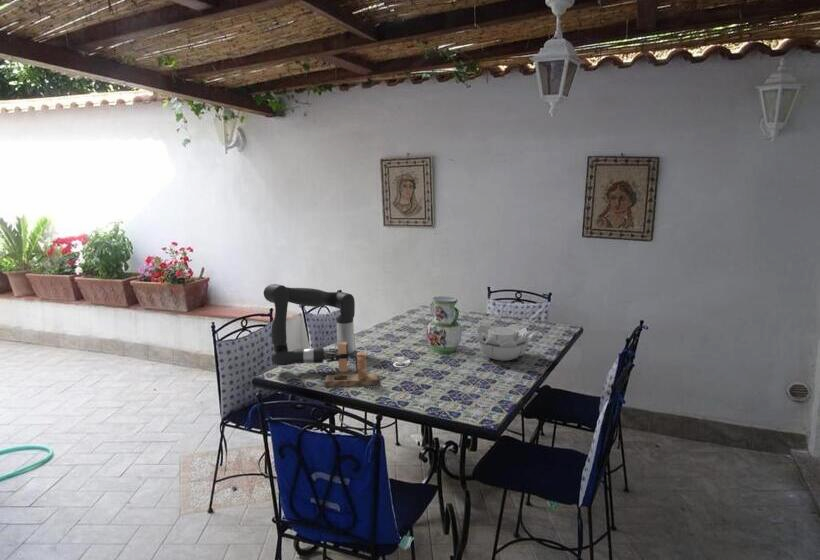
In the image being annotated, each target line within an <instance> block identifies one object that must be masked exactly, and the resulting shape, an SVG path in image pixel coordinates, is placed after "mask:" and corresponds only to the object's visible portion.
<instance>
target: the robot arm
mask: <svg viewBox="0 0 820 560" xmlns="http://www.w3.org/2000/svg"><path fill="white" fill-rule="evenodd" d="M263 296H264V298H265V300H266V301H268V302H269V303H272V304H274V310H275V312H274V318H273V321H272V324H271V344H272V345H273V353H272V356H271V362H272V364H274V365H275V366H278V367H279V366H280V367H281V366H283V367H284V366H290V365H293V364H310V365H311V364H324V362H325V361H326V362H327V363H329V362H330V363H332V362H337V361H338V362H339V359H340V358H341V359H347V358H348V359H349V355H351V354H354V352H355V351H356V336H355V331H354V330H355V327H354V326H355V325H354V317H355V312H356V310H355V308H356V307H355V306H356V305H355V302H356V300H355V297H354V295H353V294H351V293H347V292H342V291H334V292H333V291H324V290H321V289H318V288H317V289H316V288H310V287H288V286H285V285H282V284H277V283H273V284H272V283H270V284H268V285H267V286H266V287H265V288H264V290H263ZM289 303H292V304H295V305H299V306H304V307H305V306H306V307H313V308H315V307H323V306H327V307H332V308H336V309H339V310H340V314H339V315H337V316H336V318H335V319H336V340H337V341H336V342H337V343H336V344H337V346H336V347H337V348H329V349H327V350H324V347H312V348H310V347H309V348H297V349H293V350H289V349H288V343H287V315H288V314H287V313H288V307H289V305H288V304H289ZM338 342H347V344H348V354H338Z"/></svg>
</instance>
